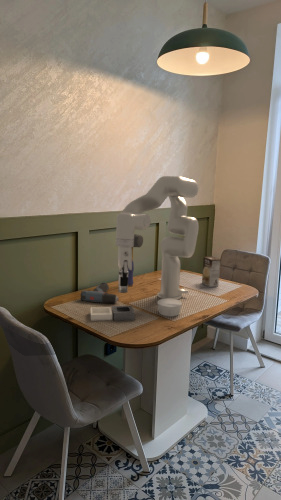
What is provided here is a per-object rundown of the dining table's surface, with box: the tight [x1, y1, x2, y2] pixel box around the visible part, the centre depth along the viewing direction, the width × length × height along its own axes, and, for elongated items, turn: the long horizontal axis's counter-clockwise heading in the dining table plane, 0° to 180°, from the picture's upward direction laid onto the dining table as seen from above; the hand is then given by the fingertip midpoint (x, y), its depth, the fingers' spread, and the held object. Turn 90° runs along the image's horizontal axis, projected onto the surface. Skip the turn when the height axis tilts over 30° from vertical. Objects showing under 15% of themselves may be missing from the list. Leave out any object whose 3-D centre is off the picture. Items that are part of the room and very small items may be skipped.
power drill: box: [80, 282, 120, 304], centre depth 182 cm, size 5×19×20 cm
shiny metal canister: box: [117, 269, 129, 294], centre depth 153 cm, size 4×4×9 cm
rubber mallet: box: [128, 233, 144, 287], centre depth 201 cm, size 12×8×30 cm, turn 58°
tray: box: [89, 306, 113, 322], centre depth 156 cm, size 9×9×3 cm
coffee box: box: [201, 256, 221, 288], centre depth 211 cm, size 9×6×16 cm
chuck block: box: [111, 305, 136, 322], centre depth 157 cm, size 9×9×3 cm
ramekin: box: [156, 298, 183, 317], centre depth 163 cm, size 11×11×5 cm
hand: (123, 284), depth 154 cm, fingers closed on shiny metal canister, 4 cm apart
